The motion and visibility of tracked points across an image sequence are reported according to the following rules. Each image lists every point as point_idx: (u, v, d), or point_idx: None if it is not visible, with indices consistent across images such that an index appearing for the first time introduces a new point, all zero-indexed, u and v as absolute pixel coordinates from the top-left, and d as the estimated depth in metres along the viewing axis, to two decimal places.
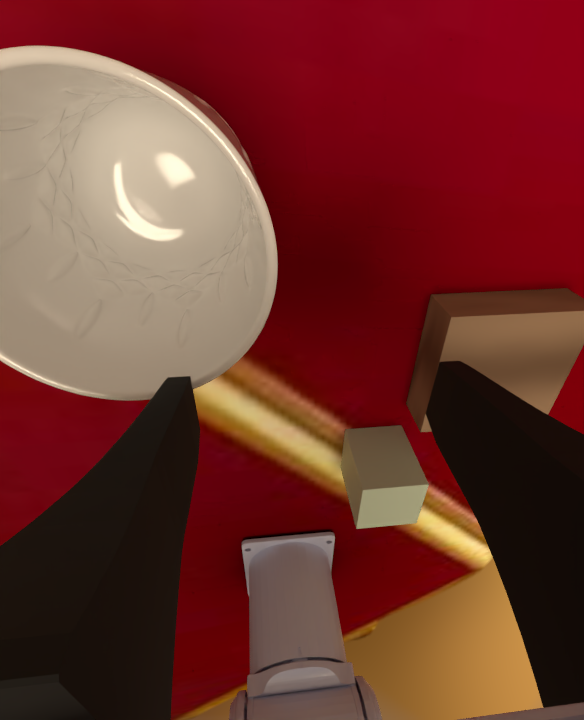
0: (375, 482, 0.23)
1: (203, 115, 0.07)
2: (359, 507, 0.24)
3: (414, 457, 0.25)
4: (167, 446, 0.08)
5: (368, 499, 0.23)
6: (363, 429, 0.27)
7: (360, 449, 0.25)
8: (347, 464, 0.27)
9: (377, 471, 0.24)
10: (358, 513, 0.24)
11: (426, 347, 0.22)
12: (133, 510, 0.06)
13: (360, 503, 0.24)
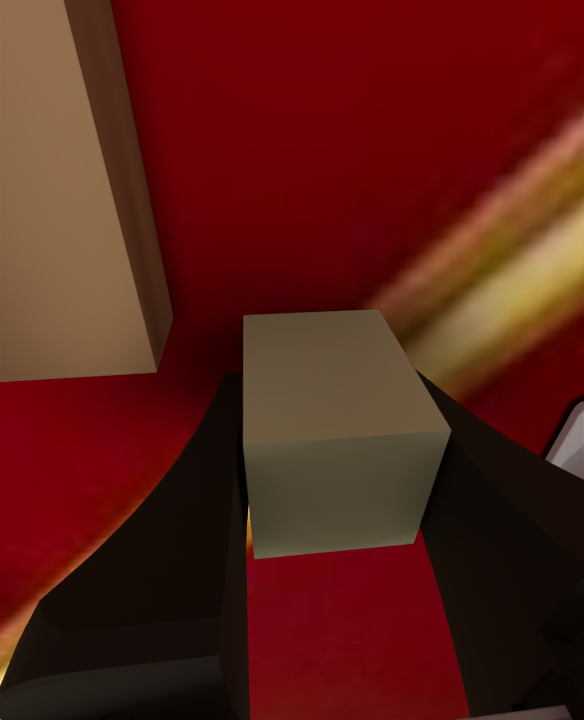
0: None
1: None
2: None
3: (243, 380, 0.09)
4: (239, 441, 0.08)
5: (294, 545, 0.09)
6: None
7: None
8: None
9: None
10: None
11: None
12: (230, 502, 0.06)
13: None
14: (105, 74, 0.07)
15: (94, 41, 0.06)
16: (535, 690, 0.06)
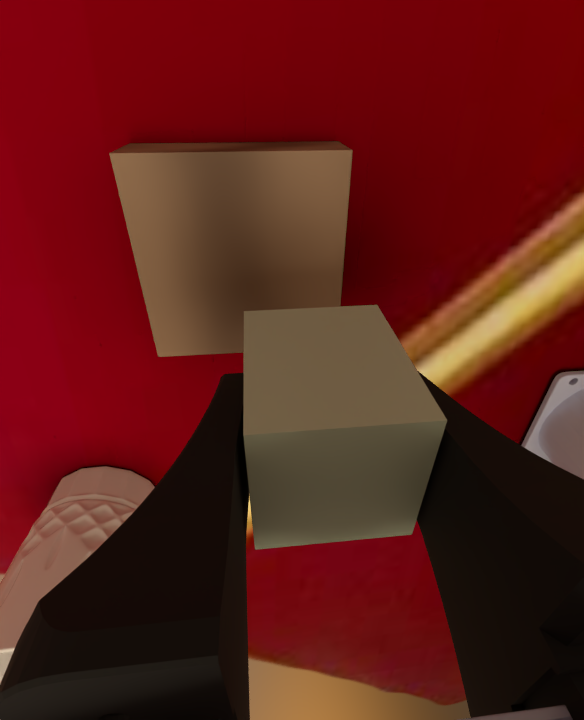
0: None
1: None
2: None
3: None
4: (239, 441, 0.08)
5: (293, 535, 0.09)
6: None
7: None
8: None
9: None
10: (352, 536, 0.10)
11: None
12: (230, 502, 0.06)
13: (310, 540, 0.10)
14: None
15: None
16: (535, 689, 0.06)
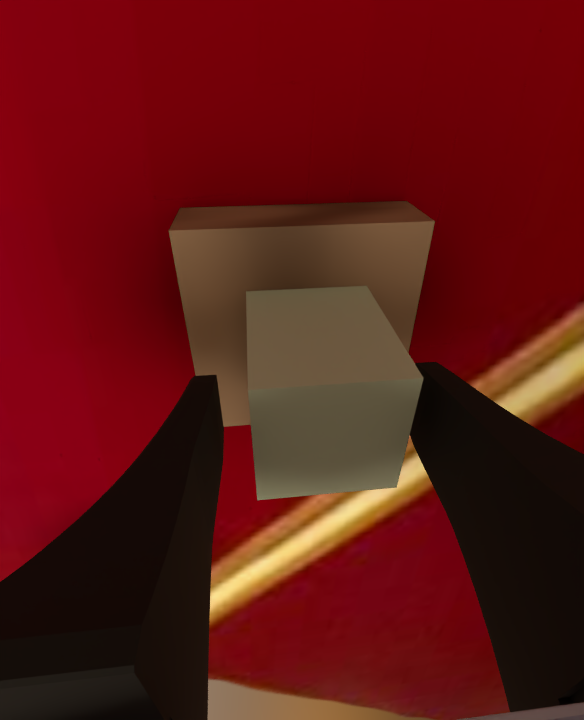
0: None
1: None
2: (322, 490, 0.11)
3: (247, 343, 0.10)
4: (201, 443, 0.08)
5: (291, 487, 0.11)
6: None
7: None
8: None
9: None
10: None
11: None
12: (179, 506, 0.06)
13: (307, 492, 0.11)
14: None
15: None
16: None
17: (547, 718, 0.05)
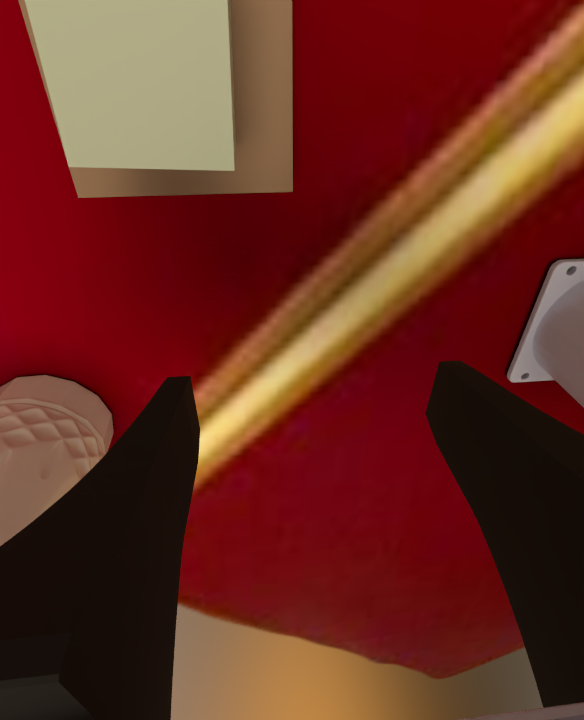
0: None
1: None
2: (148, 167, 0.10)
3: None
4: (167, 446, 0.08)
5: (106, 147, 0.09)
6: None
7: None
8: None
9: None
10: (173, 168, 0.10)
11: None
12: (133, 510, 0.06)
13: (129, 166, 0.10)
14: None
15: None
16: None
17: (547, 718, 0.05)
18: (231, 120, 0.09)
